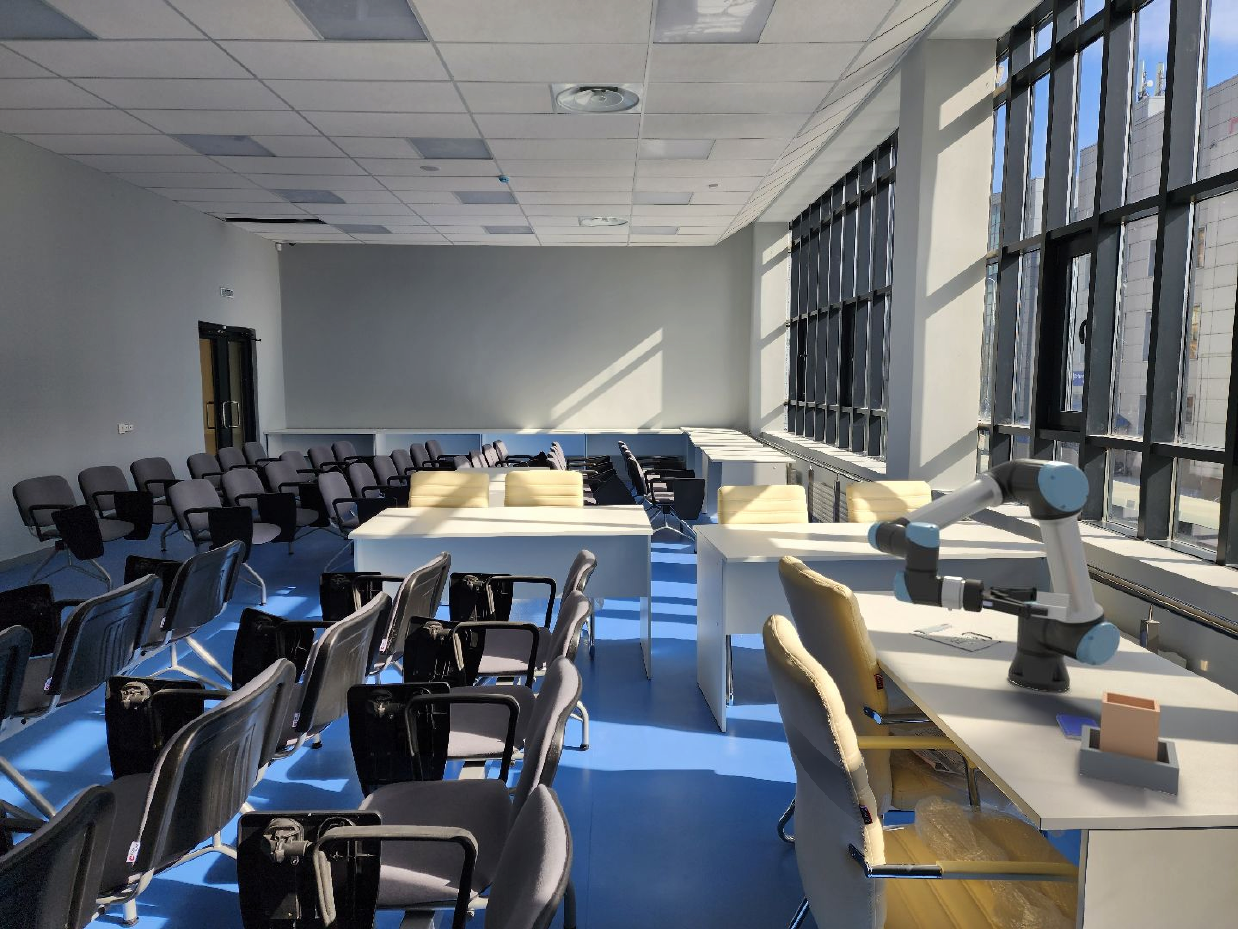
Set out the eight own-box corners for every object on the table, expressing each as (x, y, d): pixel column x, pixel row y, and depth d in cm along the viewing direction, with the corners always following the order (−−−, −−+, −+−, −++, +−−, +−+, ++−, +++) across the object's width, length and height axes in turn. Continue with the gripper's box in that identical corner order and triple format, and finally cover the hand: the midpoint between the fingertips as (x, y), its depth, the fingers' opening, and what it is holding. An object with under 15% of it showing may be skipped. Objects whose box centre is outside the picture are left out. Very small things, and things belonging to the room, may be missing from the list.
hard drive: (1106, 738, 186) (1093, 718, 198) (1066, 733, 189) (1056, 714, 200) (1106, 745, 186) (1093, 725, 198) (1066, 739, 189) (1055, 720, 201)
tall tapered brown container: (1098, 753, 178) (1103, 690, 177) (1153, 764, 173) (1158, 700, 172) (1098, 767, 171) (1102, 702, 170) (1155, 779, 166) (1160, 712, 165)
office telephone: (908, 628, 272) (944, 619, 283) (907, 635, 272) (944, 627, 283) (972, 645, 253) (1008, 635, 264) (971, 653, 253) (1008, 643, 264)
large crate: (1081, 748, 183) (1082, 724, 182) (1172, 767, 174) (1174, 742, 174) (1078, 774, 170) (1080, 748, 169) (1177, 795, 161) (1179, 768, 161)
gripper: (971, 599, 202) (1068, 612, 191) (954, 622, 181) (1063, 637, 170) (972, 569, 201) (1070, 580, 191) (956, 588, 180) (1065, 602, 169)
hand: (1067, 607), depth 180 cm, fingers open, 13 cm apart
